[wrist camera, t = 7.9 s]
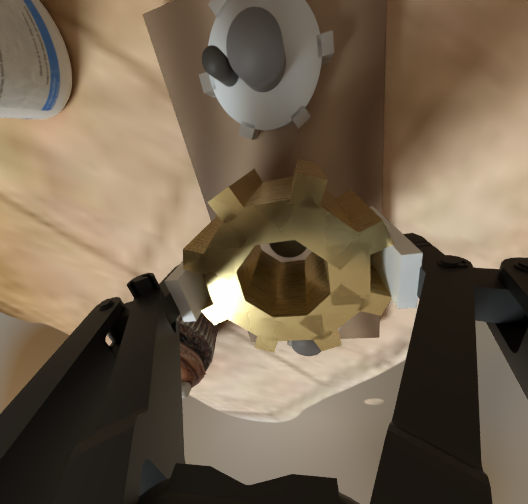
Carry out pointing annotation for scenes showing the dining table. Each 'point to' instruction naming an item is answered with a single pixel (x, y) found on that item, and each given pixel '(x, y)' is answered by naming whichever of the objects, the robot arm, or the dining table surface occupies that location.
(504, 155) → the dining table surface
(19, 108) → the supplement tub
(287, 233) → the brass gear
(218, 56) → the gear board
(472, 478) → the robot arm
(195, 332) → the cupcake
